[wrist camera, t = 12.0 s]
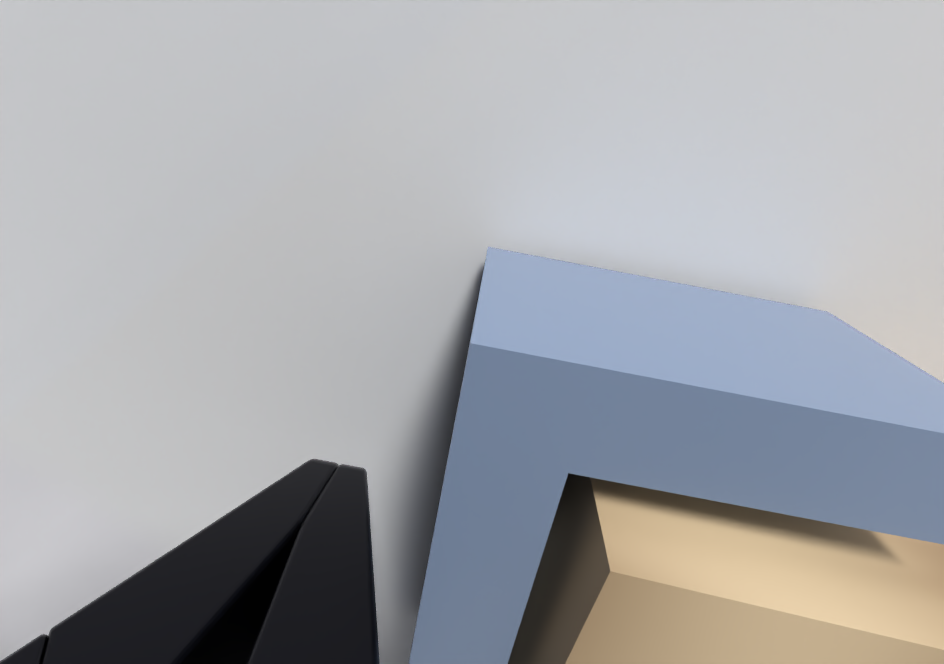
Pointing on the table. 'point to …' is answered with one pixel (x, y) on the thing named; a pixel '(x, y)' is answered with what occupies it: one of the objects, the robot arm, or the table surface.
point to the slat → (724, 586)
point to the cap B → (659, 427)
